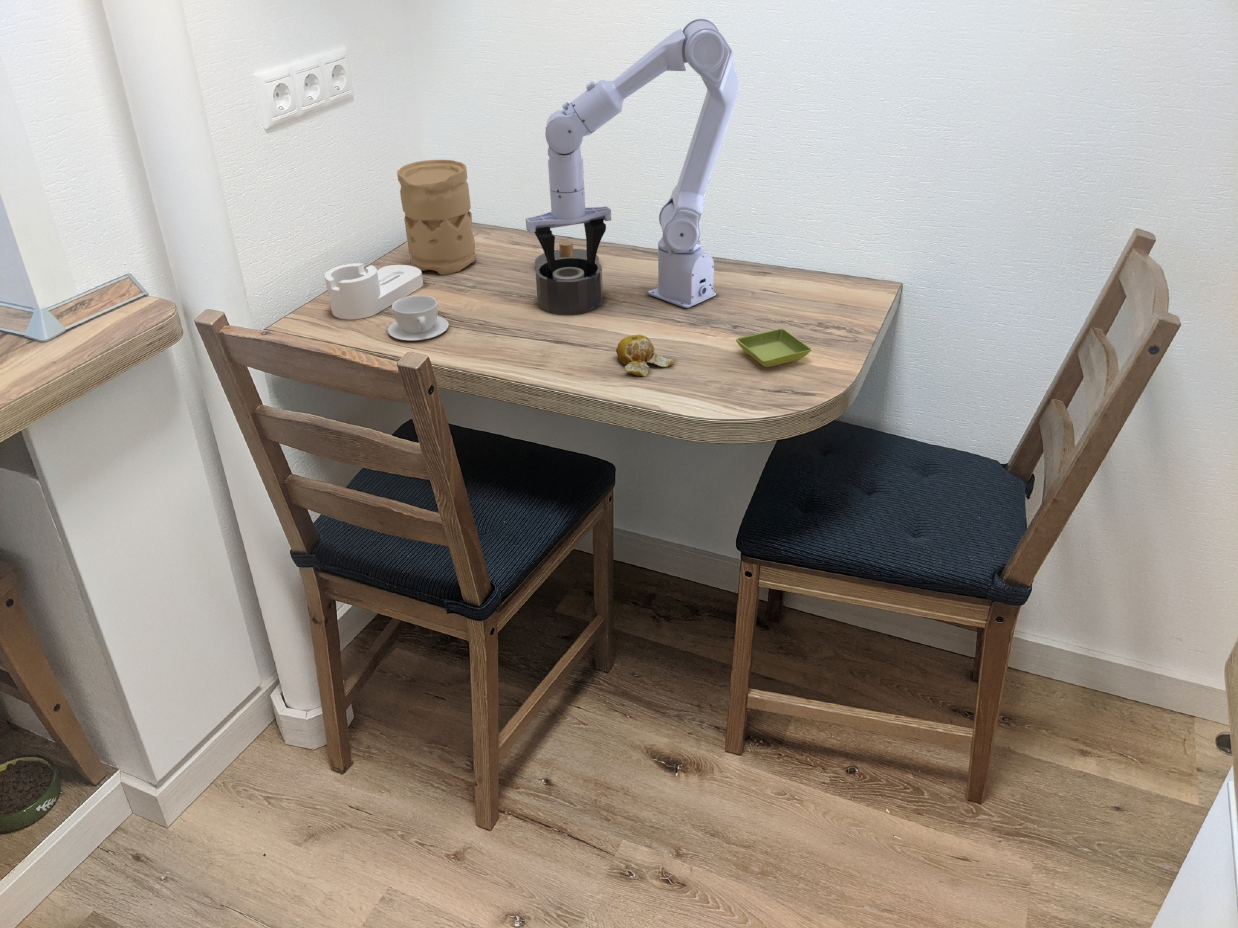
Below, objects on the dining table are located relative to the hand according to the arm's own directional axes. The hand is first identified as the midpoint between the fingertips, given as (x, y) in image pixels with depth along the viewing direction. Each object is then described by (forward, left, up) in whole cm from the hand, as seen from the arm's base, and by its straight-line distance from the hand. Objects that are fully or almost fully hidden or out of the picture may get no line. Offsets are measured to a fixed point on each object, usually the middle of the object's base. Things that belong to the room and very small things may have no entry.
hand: (571, 266), depth 165 cm
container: (+31, +5, -6) cm, 33 cm away
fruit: (-27, +10, -6) cm, 29 cm away
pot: (-1, +1, -6) cm, 6 cm away
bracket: (+27, +23, -6) cm, 36 cm away
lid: (+13, -10, -5) cm, 17 cm away
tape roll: (0, +1, -6) cm, 6 cm away
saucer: (-40, -6, -6) cm, 40 cm away
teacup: (+9, +26, -6) cm, 29 cm away
